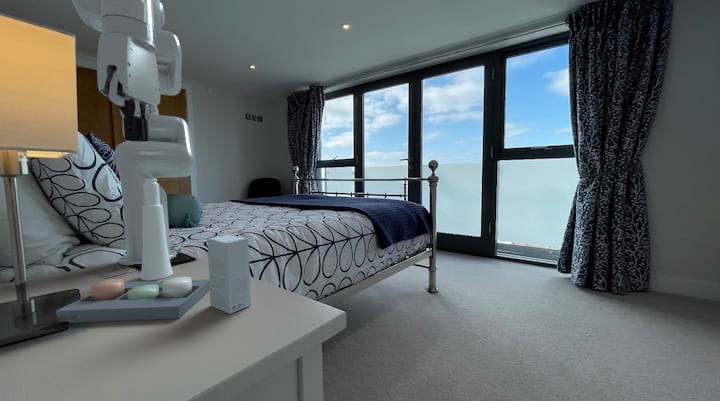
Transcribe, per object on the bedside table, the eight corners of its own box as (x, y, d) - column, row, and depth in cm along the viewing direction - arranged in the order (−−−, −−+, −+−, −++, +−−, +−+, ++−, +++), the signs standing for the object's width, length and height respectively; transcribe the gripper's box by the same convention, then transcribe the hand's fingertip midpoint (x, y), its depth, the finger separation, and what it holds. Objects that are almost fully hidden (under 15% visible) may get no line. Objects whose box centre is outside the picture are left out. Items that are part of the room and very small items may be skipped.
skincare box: (251, 305, 51) (249, 238, 50) (229, 315, 48) (226, 243, 47) (231, 297, 55) (229, 234, 53) (209, 306, 51) (205, 238, 50)
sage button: (139, 297, 54) (138, 285, 54) (164, 296, 54) (163, 284, 54) (121, 308, 49) (120, 294, 49) (149, 307, 50) (148, 293, 50)
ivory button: (172, 289, 54) (171, 277, 54) (196, 288, 54) (196, 276, 54) (157, 299, 50) (156, 286, 50) (184, 298, 50) (183, 285, 50)
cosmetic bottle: (140, 275, 67) (133, 178, 65) (171, 270, 70) (166, 178, 68) (140, 283, 62) (133, 178, 60) (174, 277, 66) (168, 178, 64)
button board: (115, 292, 57) (114, 282, 57) (211, 289, 58) (210, 279, 58) (57, 323, 45) (56, 310, 45) (179, 318, 47) (178, 306, 46)
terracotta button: (105, 291, 53) (104, 279, 53) (130, 291, 54) (129, 278, 53) (84, 302, 49) (83, 288, 49) (112, 301, 49) (111, 287, 49)
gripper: (136, 53, 59) (142, 145, 61) (69, 13, 45) (80, 135, 46) (174, 54, 60) (179, 145, 62) (122, 15, 45) (130, 135, 47)
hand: (137, 140), depth 54 cm, fingers closed
